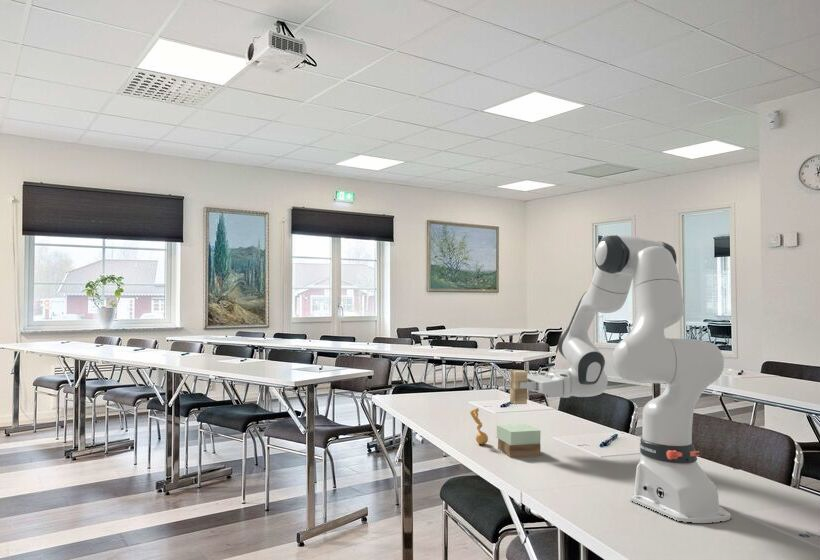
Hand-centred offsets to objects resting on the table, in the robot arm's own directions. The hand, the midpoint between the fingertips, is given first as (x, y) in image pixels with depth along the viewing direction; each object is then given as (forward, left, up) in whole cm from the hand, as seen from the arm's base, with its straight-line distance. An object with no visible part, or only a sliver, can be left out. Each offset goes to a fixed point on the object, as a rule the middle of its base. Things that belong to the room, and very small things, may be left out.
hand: (515, 383), depth 187 cm
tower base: (0, -1, -22) cm, 22 cm away
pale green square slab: (0, -1, -18) cm, 18 cm away
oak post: (0, -1, -6) cm, 6 cm away
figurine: (+11, +8, -21) cm, 26 cm away
